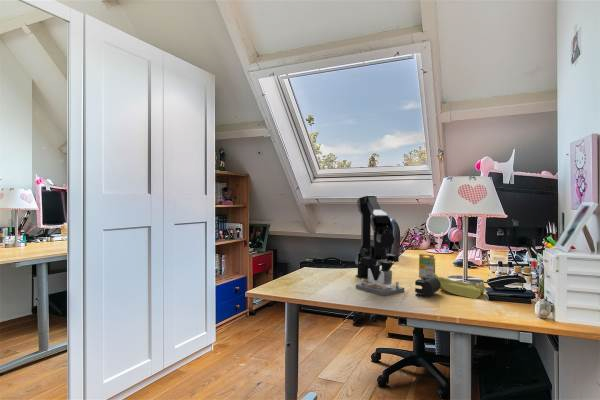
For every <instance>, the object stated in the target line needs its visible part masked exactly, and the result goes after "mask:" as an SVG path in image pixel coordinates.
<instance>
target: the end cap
mask: <svg viewBox="0 0 600 400" xmlns="http://www.w3.org/2000/svg"><path fill="white" fill-rule="evenodd" d="M414 284H415V286H419V287H421V288H418V287H415V288H414V292H415V296H417V297H420V296H421V297H420V298H429V296H431V295H434V294H435V293H437V292H438V291H439V290H441V289H440V287H441V284H440V281H439V280H438V279H437V278H435V277H432V278H425V277H420V278H419V279H415V281H414Z"/></svg>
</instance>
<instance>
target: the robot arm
mask: <svg viewBox="0 0 600 400" xmlns="http://www.w3.org/2000/svg"><path fill="white" fill-rule="evenodd" d="M356 205H357V210H358V212H359V214H360V215H361V216H360V217H361V221H360V222H361V225H360V227H361V228H360V229H361V233H360V234H361V237H360V241H361V243H360V245H359V247H358V248H357V253H356V256H355V258H354V259H355V260H354V262H355V264H356V266H357V274H356V275H355V277H358V278H361V279H368V269H371V272H372V275H373V278H374V280H375V281H377V278H378V273H379V269H380V268H381V269H385V270H390V271H391V269H392V267H393V265H394V264H395V263H398V262H399V261H400V260H399V256H398V255H397V254H393V253H388V252H387V251H388V250H389V249H390V247H391V246H392V245H393V244H394V242H395V237H394V235H393V234H392V233H391V232H392V231H393V225H392V221H391V219H390V217H389V215H388V214H387V212H386V211H384V210H382V208H381V205H380V204H379V202H378V200H377V195H375V194H366V195H364V196H362V197H359V198H358V199H357V201H356ZM371 228H372V231H373V233H372V234H373V235H371ZM371 236H372V239H373V241H372V243H373V245H372V244H371ZM379 264H380V265H379Z"/></svg>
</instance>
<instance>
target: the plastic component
mask: <svg viewBox="0 0 600 400" xmlns="http://www.w3.org/2000/svg"><path fill="white" fill-rule="evenodd" d="M433 274H434V277H435V278H437V279H438V280H439V281H440V284H441V287H440V289H439V290H442V291H446V292H448V293H450V294H453V295H456V296H460V297H465V298H468V297H469V299H474V298H476V299H479V298H480V296H481V295H483V294H484V293H485V288H486V285H485V283H484V282H481V283H480V285H475V284H471V283H464V282H462V281H461V282H459V281H455V280H452V279H448V278H445V277H442V276H438V275H437V273H436V272H435V273H433Z"/></svg>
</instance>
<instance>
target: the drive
mask: <svg viewBox="0 0 600 400" xmlns="http://www.w3.org/2000/svg"><path fill="white" fill-rule="evenodd" d="M367 282H373V283H377V284H381V285H383V284H386V285H388V284H391V285H393V271H392V270H391V269H390V270H385V269H382V267H380V269H379V273H378V278H377V281H375V280H374V278H373V275H372V272H371V269H368V278H367Z"/></svg>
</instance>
